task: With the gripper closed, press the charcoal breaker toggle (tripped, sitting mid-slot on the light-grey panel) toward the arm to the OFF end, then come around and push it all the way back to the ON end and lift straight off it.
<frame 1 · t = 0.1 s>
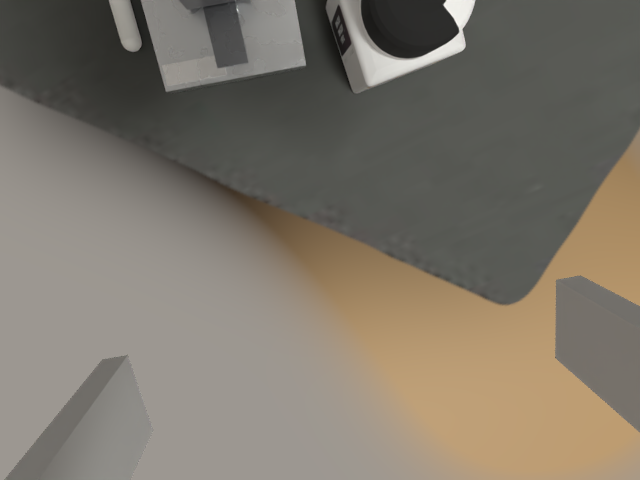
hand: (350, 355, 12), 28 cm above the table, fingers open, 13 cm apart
container: (379, 36, 36), on the table
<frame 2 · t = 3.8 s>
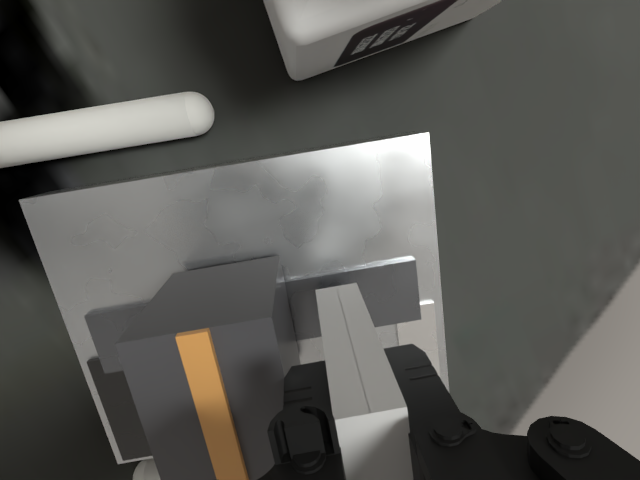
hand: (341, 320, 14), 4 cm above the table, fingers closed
toggle: (229, 362, 13), point 5 cm above the table, slide at -0.7 cm, touching gripper
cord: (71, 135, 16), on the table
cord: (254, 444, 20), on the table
panel: (262, 294, 18), on the table
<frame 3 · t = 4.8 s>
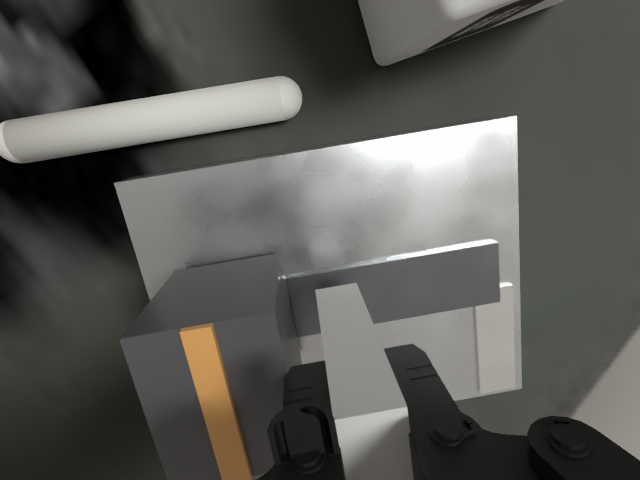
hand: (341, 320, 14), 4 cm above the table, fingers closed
toggle: (232, 357, 13), point 5 cm above the table, slide at -4.0 cm
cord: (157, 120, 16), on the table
panel: (335, 279, 18), on the table
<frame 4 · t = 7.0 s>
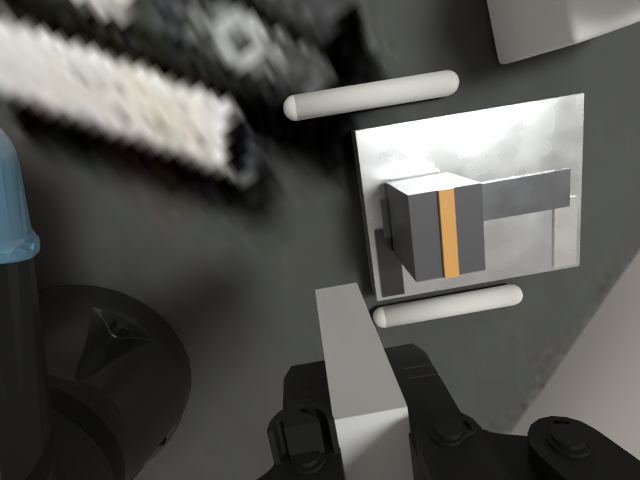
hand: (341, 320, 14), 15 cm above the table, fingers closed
toggle: (433, 223, 24), point 5 cm above the table, slide at -4.0 cm
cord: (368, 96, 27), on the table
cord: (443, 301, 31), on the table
panel: (462, 197, 29), on the table
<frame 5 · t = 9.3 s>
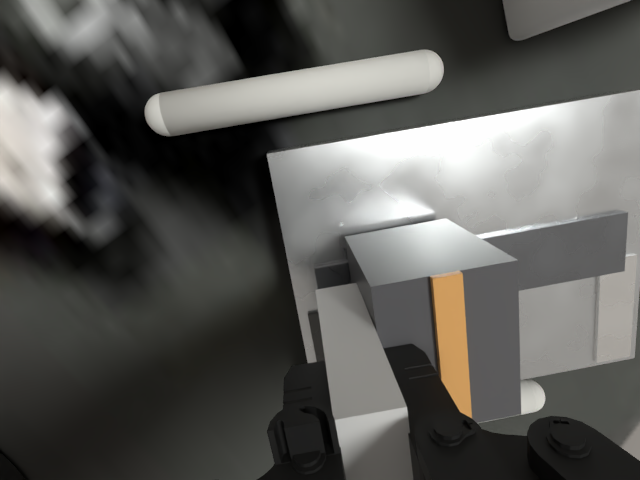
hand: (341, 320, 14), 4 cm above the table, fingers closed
toggle: (423, 316, 14), point 5 cm above the table, slide at -3.1 cm, touching gripper
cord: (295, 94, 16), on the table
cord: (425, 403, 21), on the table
panel: (452, 253, 19), on the table
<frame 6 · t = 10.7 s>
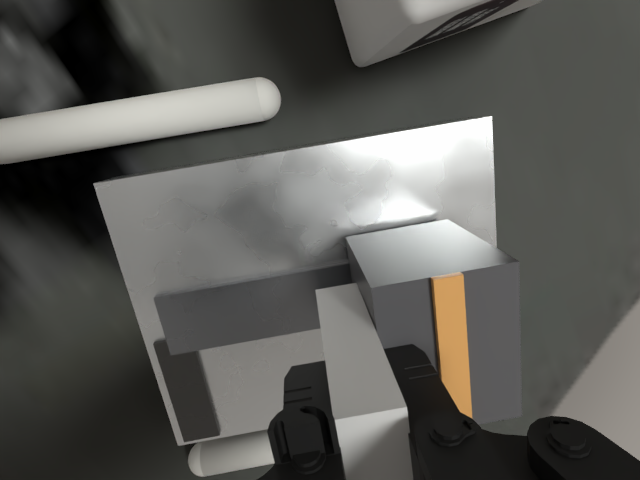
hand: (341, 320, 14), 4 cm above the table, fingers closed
toggle: (424, 317, 14), point 5 cm above the table, slide at 3.3 cm, touching gripper
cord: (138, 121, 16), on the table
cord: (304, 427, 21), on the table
panel: (317, 278, 18), on the table
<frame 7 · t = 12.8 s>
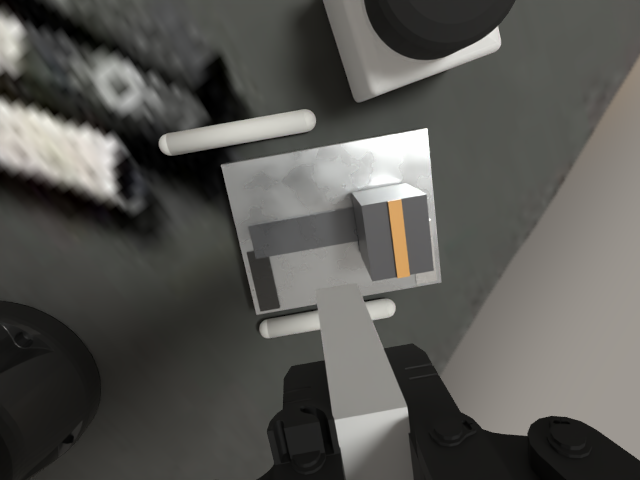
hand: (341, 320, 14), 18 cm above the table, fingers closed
toggle: (390, 229, 27), point 5 cm above the table, slide at 3.4 cm
container: (388, 32, 29), on the table
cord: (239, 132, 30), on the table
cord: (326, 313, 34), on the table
panel: (334, 220, 32), on the table
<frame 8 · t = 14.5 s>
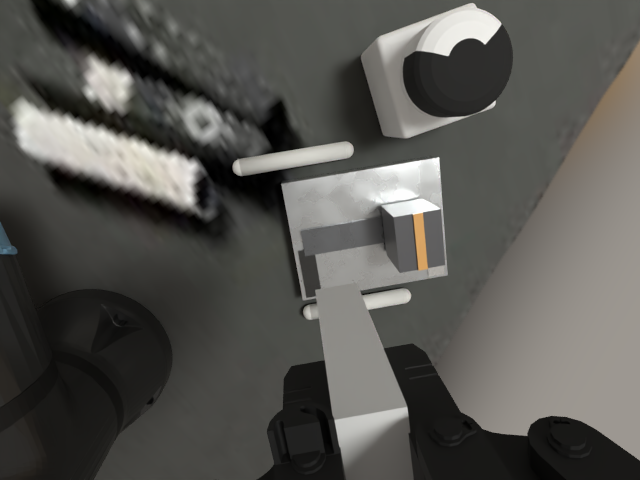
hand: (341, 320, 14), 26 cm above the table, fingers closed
toggle: (411, 234, 36), point 5 cm above the table, slide at 3.4 cm
container: (409, 83, 38), on the table
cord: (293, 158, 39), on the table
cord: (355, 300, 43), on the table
panel: (364, 226, 41), on the table
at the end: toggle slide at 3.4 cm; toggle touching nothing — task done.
